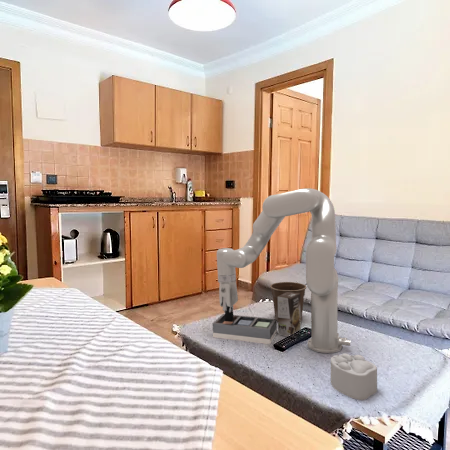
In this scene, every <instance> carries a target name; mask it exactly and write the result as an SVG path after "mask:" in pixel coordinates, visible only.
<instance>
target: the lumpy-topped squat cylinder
mask: <svg viewBox="0 0 450 450" xmlns="http://www.w3.org/2000/svg"><path fill="white" fill-rule="evenodd" d="M330 383H331V384H330V385H332V387H333V388H334V389H335V390H336V391H337V392H339V393H341V394H342V395H345V396H347V397H348V398H352V399H354V400H358V401H366V400H367V399H369V397H371V396H373V395H375V394H377V392H378V367H377V365H375V364H374V363H372V362H370V361H368V360H367V359H365V357H364V356H363V355H361V354H355V355H353V354H352V355H350V354H349V353H342V354H335V355H333V356H331V358H330Z"/></svg>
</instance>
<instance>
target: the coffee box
mask: <svg viewBox="0 0 450 450" xmlns="http://www.w3.org/2000/svg"><path fill="white" fill-rule="evenodd" d="M301 323H302V321H301V317H300V293H293V292H286V293H284V294H282V295H280V296H278V322H277V334H278V335H281V336H285V337H288V336H289V335H292V334H294V333H295V332H297V331H299V330H300V331H301V327H302V326H301V325H302V324H301ZM300 331H299V332H300Z"/></svg>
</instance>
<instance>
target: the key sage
mask: <svg viewBox="0 0 450 450" xmlns="http://www.w3.org/2000/svg"><path fill="white" fill-rule="evenodd" d="M269 326H270V323H268V322H257V324H256V325H255V327H260V328H268V327H269Z"/></svg>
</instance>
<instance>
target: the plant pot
mask: <svg viewBox="0 0 450 450" xmlns="http://www.w3.org/2000/svg"><path fill="white" fill-rule="evenodd" d="M269 288H271V295H272V300H273V311H274V319H277V323H278V296H280V295H282V294H284V293H286V292H293V293H300V317H301V322H302V321H303V312H304V311H303V309H304V308H303V307H304V299H305V295H306V289H307V284H306V285H305V284H304V283H301V282H294V281H283V282H282V281H280V282H275V283H272V284H270V286H269Z"/></svg>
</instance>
